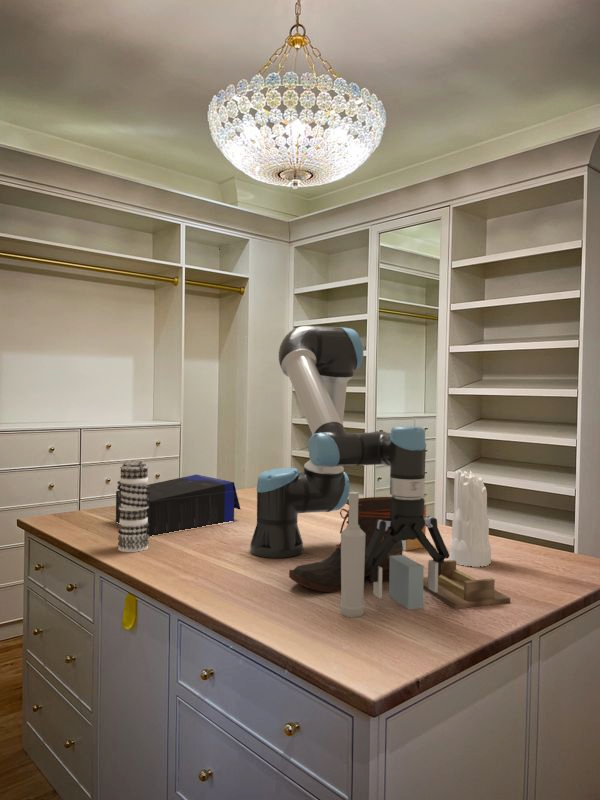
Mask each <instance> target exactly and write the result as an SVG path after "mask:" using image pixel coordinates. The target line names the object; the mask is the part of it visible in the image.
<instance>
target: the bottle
mask: <svg viewBox="0 0 600 800" xmlns="http://www.w3.org/2000/svg"><path fill="white" fill-rule="evenodd" d="M359 493H360V492H357V491H350V492H349V497H348V503H349V505H348V510H349V524H347V525H346V527H345V528H344V529H342V532H341V533H340V543H341V591H340V596H341V597H340V598H341V599H340V602H339V612H340V614H341V615H342V616H345V617H348V618H359V617H362V616H364V613H365V607H366V606H365V602H364V593H365V592H364V591H365V590H364V589H365V580H364V566H365V536H366V534H365V533H364V532H363V531H362V530H361V529H360V526H359V525H358V502H359V495H360V494H359Z"/></svg>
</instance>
